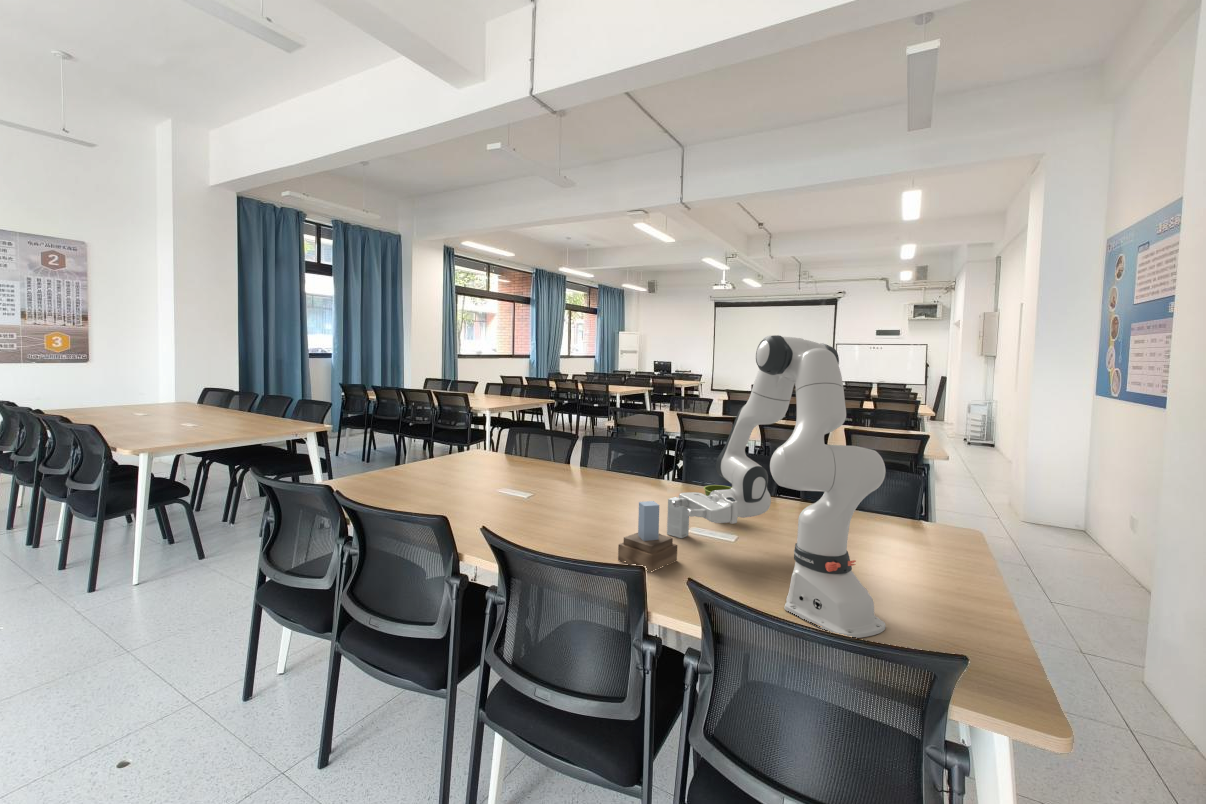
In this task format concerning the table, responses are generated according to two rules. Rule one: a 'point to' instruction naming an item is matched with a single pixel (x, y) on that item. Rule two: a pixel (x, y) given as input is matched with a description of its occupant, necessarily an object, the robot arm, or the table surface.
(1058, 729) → the table surface
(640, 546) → the walnut block
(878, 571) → the table surface
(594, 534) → the table surface
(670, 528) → the skincare box
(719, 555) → the table surface
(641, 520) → the slate block
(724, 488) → the plant pot
